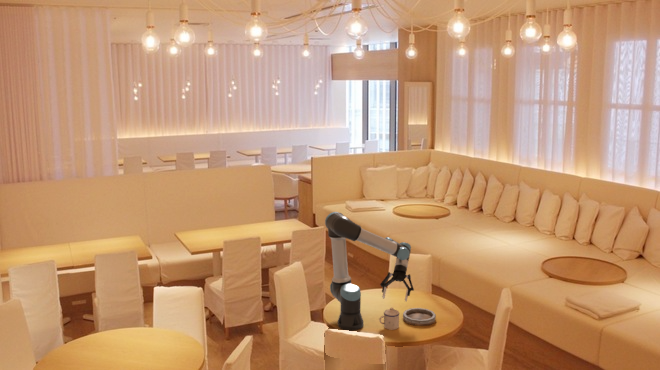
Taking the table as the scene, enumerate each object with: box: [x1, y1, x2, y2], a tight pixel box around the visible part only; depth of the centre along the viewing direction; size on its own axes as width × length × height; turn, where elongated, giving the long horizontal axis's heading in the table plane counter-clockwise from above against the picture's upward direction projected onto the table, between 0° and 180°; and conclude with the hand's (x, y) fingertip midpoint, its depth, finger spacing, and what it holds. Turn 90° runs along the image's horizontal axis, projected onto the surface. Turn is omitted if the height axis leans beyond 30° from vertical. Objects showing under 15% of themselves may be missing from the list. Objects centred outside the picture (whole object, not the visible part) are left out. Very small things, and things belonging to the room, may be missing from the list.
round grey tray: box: [402, 307, 437, 327], centre depth 383 cm, size 19×19×3 cm
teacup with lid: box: [378, 307, 400, 331], centre depth 371 cm, size 12×9×12 cm
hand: (394, 299), depth 378 cm, fingers open, 13 cm apart
